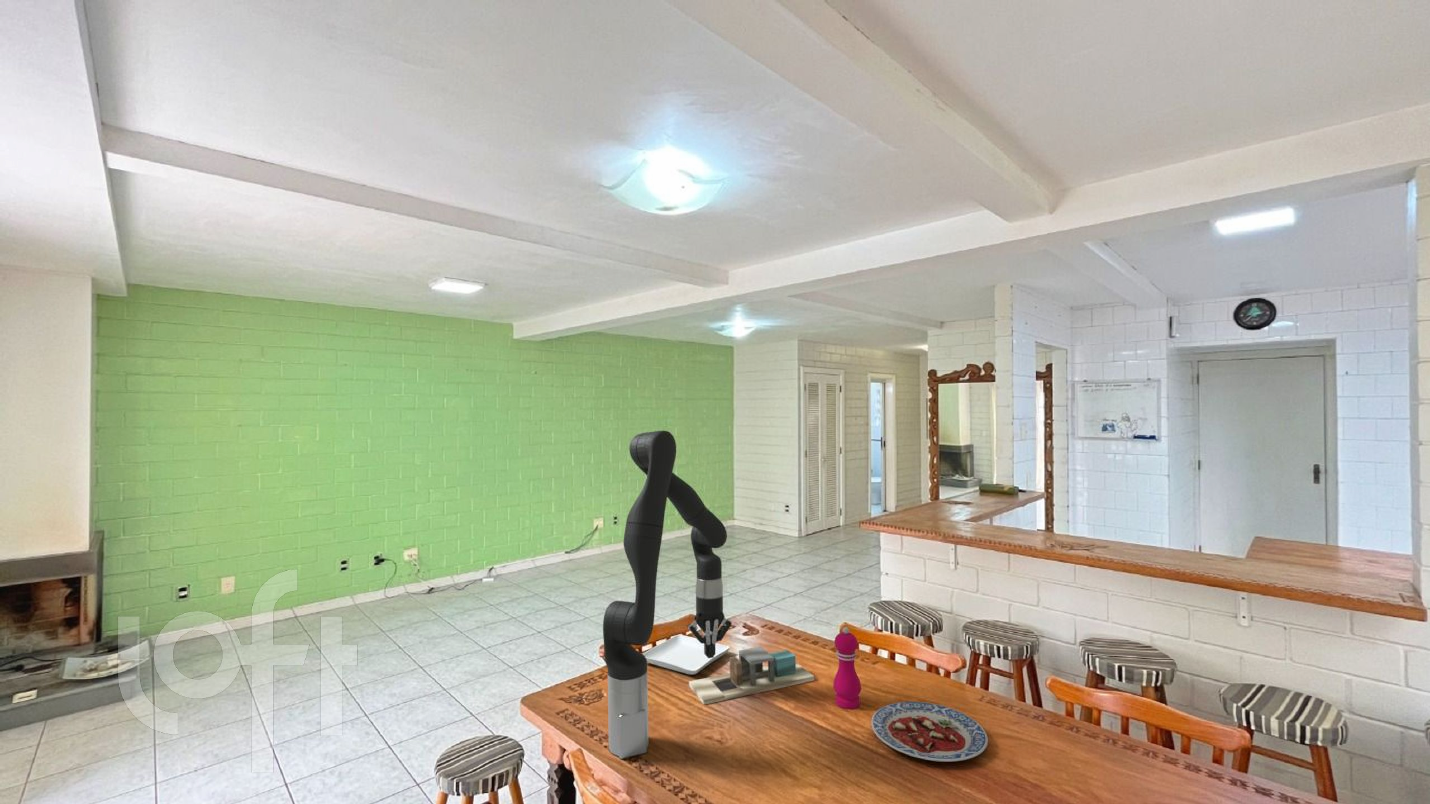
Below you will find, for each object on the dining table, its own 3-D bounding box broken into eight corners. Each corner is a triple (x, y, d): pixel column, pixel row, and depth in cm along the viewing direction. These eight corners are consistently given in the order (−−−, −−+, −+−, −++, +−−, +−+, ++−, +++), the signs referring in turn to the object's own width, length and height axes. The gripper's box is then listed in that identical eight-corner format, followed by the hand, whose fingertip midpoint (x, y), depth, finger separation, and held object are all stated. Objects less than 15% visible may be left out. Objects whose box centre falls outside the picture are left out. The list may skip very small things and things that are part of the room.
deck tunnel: (814, 680, 168) (813, 652, 168) (703, 704, 155) (703, 674, 156) (793, 664, 179) (792, 638, 179) (689, 685, 166) (688, 657, 167)
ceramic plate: (912, 780, 122) (912, 765, 122) (852, 719, 147) (851, 707, 147) (1014, 758, 129) (1013, 744, 129) (940, 703, 154) (939, 692, 154)
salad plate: (732, 655, 188) (731, 645, 188) (695, 682, 170) (695, 670, 170) (678, 643, 199) (678, 633, 199) (638, 666, 181) (638, 655, 181)
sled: (795, 673, 170) (795, 652, 170) (736, 685, 163) (736, 663, 163) (787, 666, 174) (787, 646, 175) (730, 678, 167) (729, 657, 168)
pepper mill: (859, 697, 158) (857, 622, 158) (863, 710, 151) (861, 632, 151) (832, 696, 158) (830, 622, 159) (835, 709, 151) (833, 632, 152)
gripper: (691, 599, 157) (691, 665, 156) (736, 594, 162) (737, 658, 161) (682, 592, 164) (683, 655, 163) (726, 587, 169) (726, 649, 168)
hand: (709, 657), depth 162 cm, fingers closed
